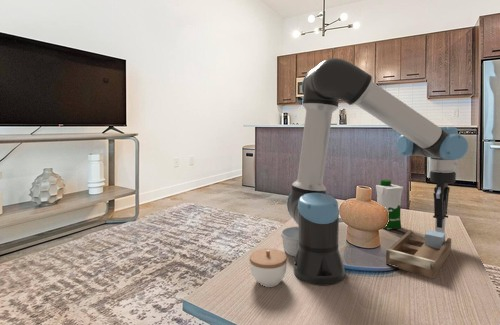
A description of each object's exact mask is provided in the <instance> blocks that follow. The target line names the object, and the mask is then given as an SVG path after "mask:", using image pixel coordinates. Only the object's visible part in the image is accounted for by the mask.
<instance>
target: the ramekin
mask: <svg viewBox="0 0 500 325" xmlns="http://www.w3.org/2000/svg"><path fill="white" fill-rule="evenodd" d="M280 234H281V235H280V236H281V240H282V248H283V250H284V253H285V254H286V255H287V254H288V255H289V256H292V257H296V254H297V251H298V248H299V226H289V227H286V228H284V229H282V230H281V232H280Z"/></svg>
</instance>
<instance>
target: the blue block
mask: <svg viewBox="0 0 500 325" xmlns="http://www.w3.org/2000/svg"><path fill="white" fill-rule="evenodd" d="M424 239H425V245H426V246H430V247H434V248H439V249H440V248H441V247H442V246H443V244H444V243H445V241H446V232H445V233H441V232H436V231H435V230H430V229H428V230H427V231H426V232H425V233H424Z"/></svg>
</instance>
